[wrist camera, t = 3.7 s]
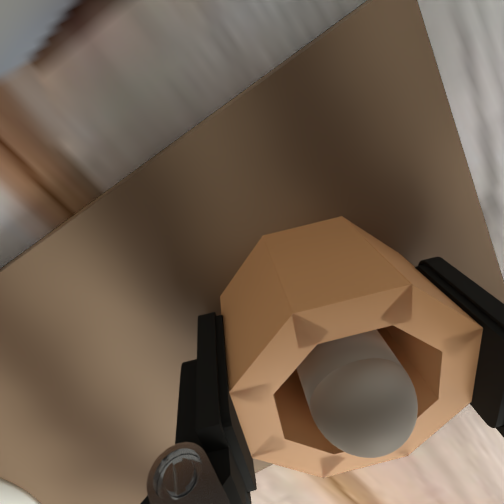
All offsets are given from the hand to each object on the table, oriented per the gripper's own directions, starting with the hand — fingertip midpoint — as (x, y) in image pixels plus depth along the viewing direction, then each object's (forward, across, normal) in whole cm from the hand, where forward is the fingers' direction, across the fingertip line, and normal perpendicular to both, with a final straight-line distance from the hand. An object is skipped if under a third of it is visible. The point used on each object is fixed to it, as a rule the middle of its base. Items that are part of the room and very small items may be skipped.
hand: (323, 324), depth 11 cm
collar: (+1, 0, 0) cm, 1 cm away
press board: (+2, +9, +4) cm, 10 cm away
